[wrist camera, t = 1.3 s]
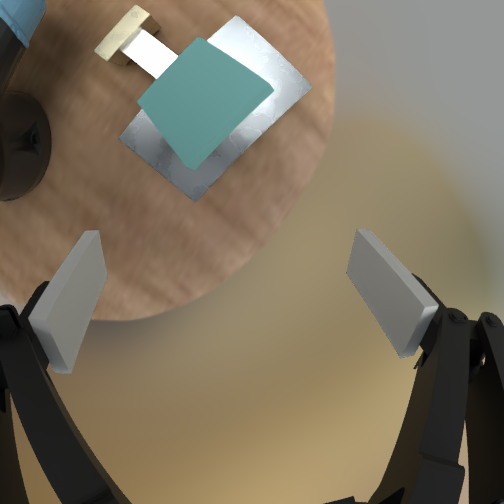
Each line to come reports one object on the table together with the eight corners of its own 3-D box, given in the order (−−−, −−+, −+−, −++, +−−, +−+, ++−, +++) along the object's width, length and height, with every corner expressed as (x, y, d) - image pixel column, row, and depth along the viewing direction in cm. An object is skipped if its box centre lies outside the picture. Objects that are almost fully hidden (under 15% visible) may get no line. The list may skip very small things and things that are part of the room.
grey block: (138, 129, 33) (118, 138, 26) (232, 32, 28) (236, 14, 21) (199, 181, 37) (195, 202, 30) (293, 88, 32) (312, 86, 25)
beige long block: (112, 57, 27) (93, 51, 22) (148, 18, 25) (135, 4, 20) (204, 132, 33) (201, 139, 27) (241, 94, 31) (246, 94, 26)
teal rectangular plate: (143, 106, 25) (136, 101, 24) (204, 42, 22) (198, 36, 21) (194, 170, 21) (186, 166, 20) (274, 90, 19) (269, 83, 18)
